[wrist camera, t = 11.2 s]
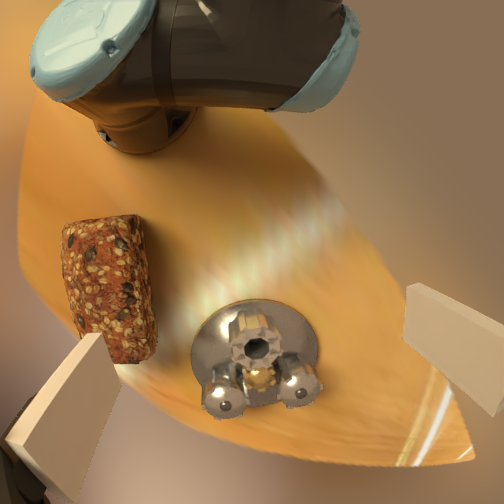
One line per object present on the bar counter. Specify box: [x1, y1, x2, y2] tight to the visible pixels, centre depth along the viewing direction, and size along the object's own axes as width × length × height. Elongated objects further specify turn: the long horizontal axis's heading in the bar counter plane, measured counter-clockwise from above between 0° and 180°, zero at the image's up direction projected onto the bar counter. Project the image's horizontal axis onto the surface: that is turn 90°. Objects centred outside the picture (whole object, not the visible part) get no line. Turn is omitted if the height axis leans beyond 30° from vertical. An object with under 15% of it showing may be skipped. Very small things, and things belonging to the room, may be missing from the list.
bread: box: [61, 214, 158, 364], centre depth 33 cm, size 19×11×10 cm, turn 3°
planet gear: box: [228, 307, 283, 371], centre depth 37 cm, size 7×7×6 cm
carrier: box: [191, 299, 323, 421], centre depth 39 cm, size 20×20×8 cm
